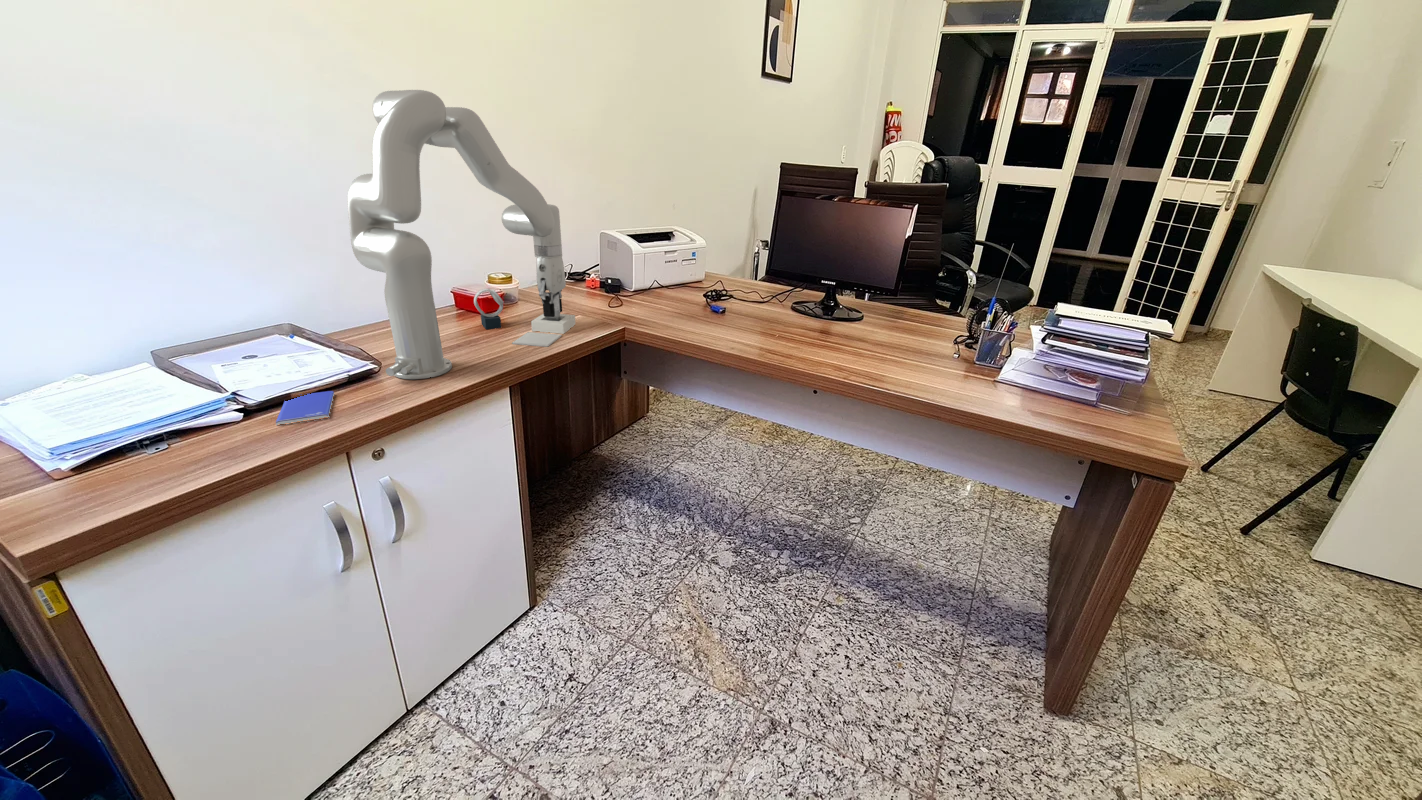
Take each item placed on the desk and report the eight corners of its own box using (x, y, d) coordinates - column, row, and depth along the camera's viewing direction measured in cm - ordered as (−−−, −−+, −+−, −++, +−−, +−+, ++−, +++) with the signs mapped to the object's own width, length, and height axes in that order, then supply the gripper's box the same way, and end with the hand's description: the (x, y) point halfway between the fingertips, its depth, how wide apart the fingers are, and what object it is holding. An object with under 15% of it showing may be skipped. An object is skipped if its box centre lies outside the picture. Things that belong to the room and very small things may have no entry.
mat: (547, 346, 148) (547, 345, 148) (512, 344, 150) (512, 342, 149) (561, 336, 158) (561, 334, 157) (528, 333, 159) (528, 332, 158)
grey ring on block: (508, 327, 164) (504, 290, 159) (479, 330, 159) (474, 292, 155) (503, 322, 168) (499, 286, 163) (475, 325, 164) (470, 288, 159)
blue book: (327, 413, 105) (333, 390, 115) (275, 421, 102) (285, 396, 112) (329, 420, 106) (335, 397, 116) (277, 428, 102) (287, 403, 112)
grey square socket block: (563, 333, 160) (563, 323, 158) (532, 331, 161) (531, 321, 159) (575, 324, 168) (574, 315, 167) (545, 322, 169) (544, 312, 168)
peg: (558, 330, 162) (555, 296, 158) (545, 329, 163) (542, 295, 159) (563, 326, 166) (560, 293, 162) (550, 325, 166) (547, 292, 162)
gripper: (549, 256, 147) (554, 322, 155) (571, 247, 163) (575, 307, 170) (522, 254, 148) (528, 320, 155) (547, 245, 163) (552, 306, 171)
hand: (553, 313), depth 163 cm, fingers open, 4 cm apart
